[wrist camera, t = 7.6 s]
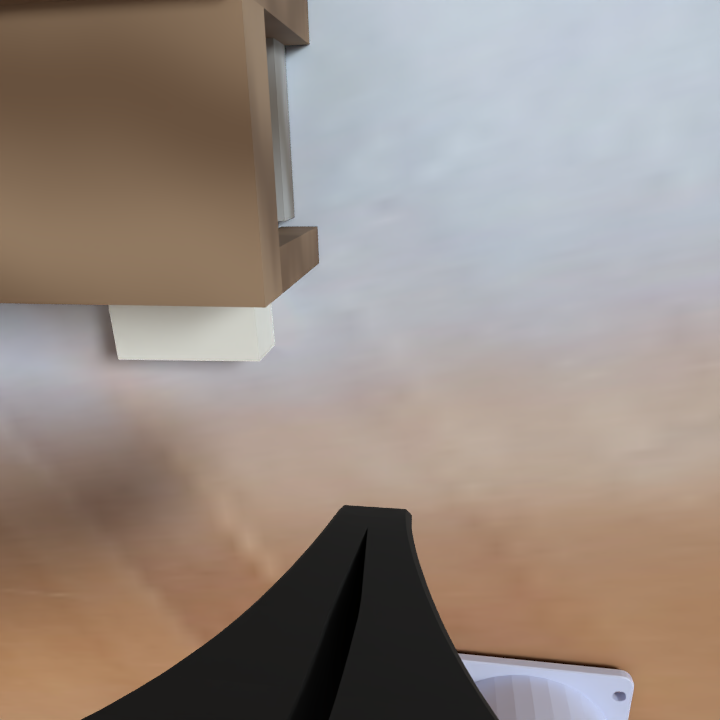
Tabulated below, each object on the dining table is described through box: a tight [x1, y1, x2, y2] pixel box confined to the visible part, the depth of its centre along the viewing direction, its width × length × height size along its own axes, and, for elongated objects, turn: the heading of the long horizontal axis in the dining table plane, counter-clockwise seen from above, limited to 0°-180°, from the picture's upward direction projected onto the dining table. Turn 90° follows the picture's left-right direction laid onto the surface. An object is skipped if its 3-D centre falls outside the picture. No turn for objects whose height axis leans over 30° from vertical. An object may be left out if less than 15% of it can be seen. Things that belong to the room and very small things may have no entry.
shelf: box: [0, 0, 319, 308], centre depth 15 cm, size 8×10×6 cm
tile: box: [108, 303, 275, 361], centre depth 19 cm, size 9×5×2 cm, turn 2°
